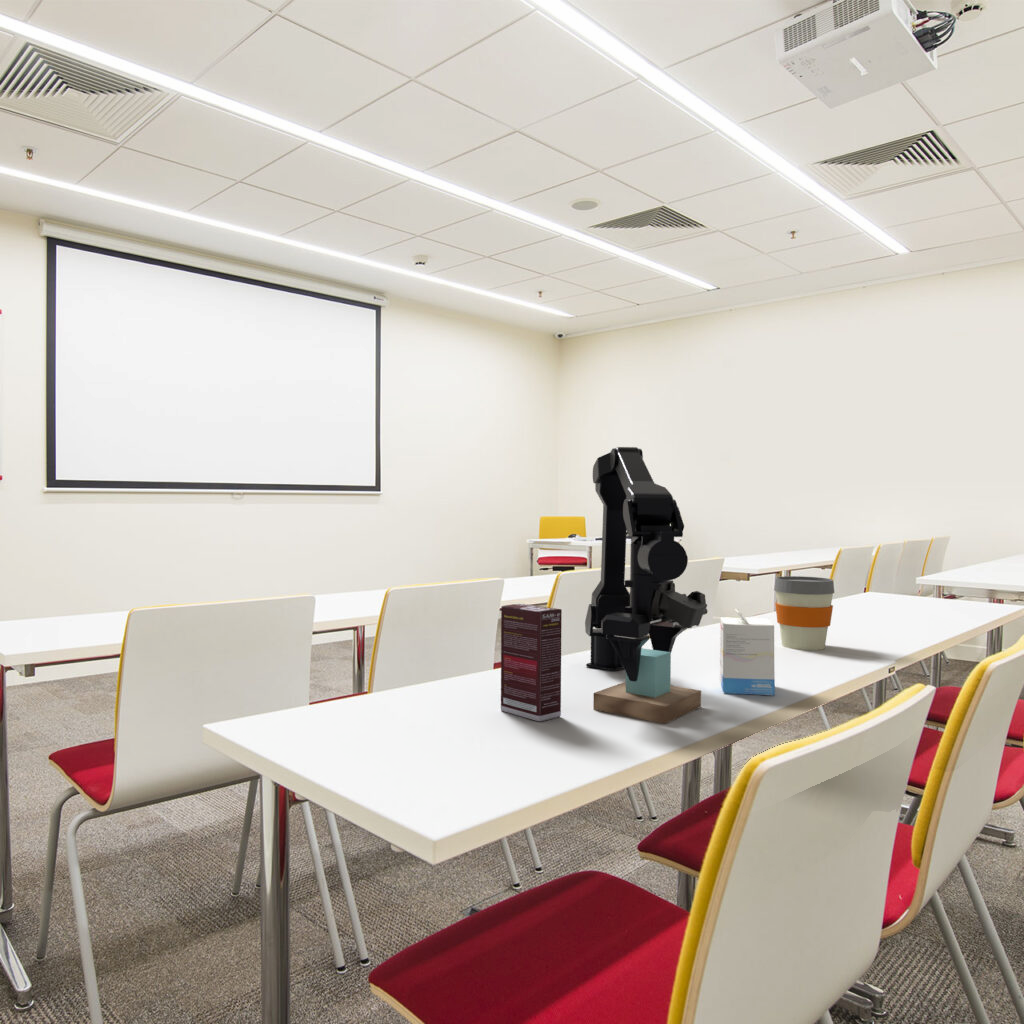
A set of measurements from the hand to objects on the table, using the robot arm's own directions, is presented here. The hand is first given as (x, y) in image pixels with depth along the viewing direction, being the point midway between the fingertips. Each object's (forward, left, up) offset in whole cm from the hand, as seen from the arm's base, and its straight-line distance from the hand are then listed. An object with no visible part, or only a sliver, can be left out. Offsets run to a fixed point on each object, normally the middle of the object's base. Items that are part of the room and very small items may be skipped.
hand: (648, 675), depth 118 cm
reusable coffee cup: (+2, +69, -5) cm, 69 cm away
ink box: (+7, +22, -5) cm, 24 cm away
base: (0, 0, -5) cm, 5 cm away
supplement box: (-12, -14, -5) cm, 19 cm away
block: (0, 0, -2) cm, 2 cm away
